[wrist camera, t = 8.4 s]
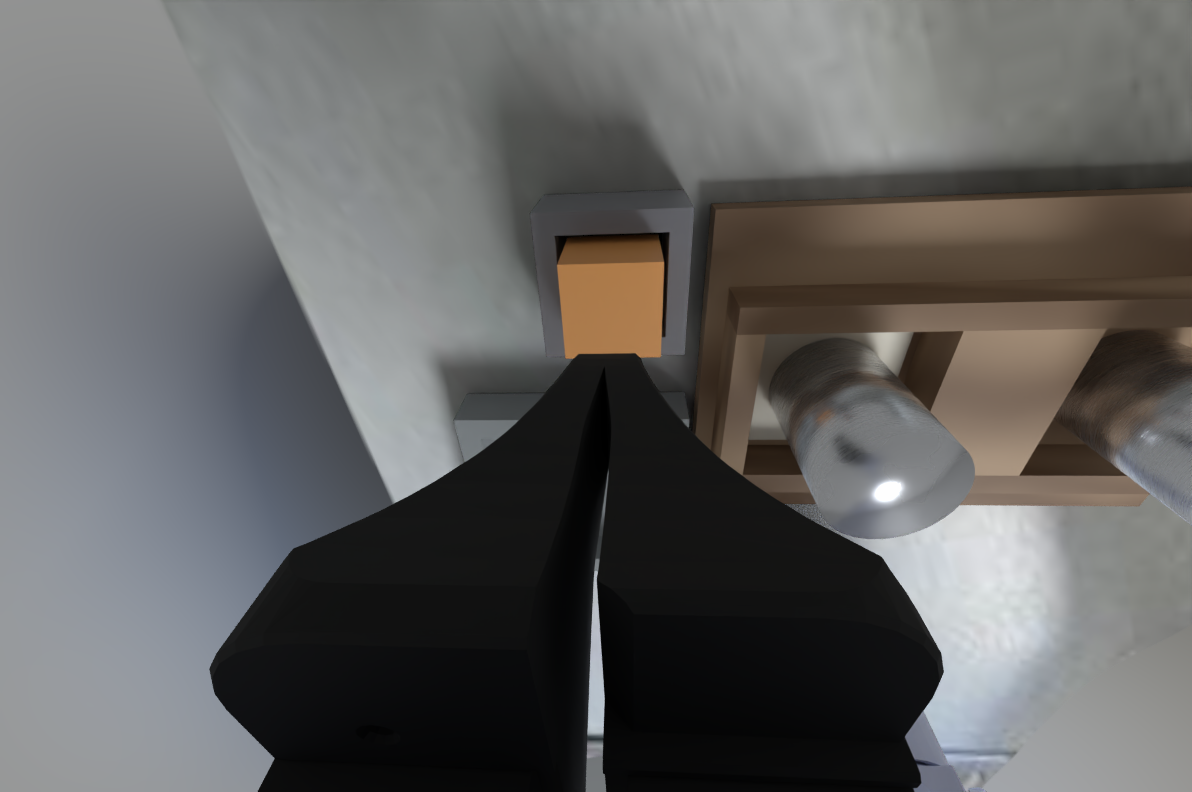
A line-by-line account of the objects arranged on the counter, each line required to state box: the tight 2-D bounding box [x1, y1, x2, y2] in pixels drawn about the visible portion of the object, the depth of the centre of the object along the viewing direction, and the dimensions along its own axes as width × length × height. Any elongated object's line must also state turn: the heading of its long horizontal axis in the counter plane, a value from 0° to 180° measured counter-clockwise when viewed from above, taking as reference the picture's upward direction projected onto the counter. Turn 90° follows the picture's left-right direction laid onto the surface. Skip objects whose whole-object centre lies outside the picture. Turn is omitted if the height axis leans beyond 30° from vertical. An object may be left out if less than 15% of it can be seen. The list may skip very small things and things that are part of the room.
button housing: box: [530, 190, 694, 357], centre depth 17 cm, size 5×5×3 cm
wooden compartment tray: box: [692, 186, 1192, 506], centre depth 19 cm, size 14×21×3 cm, turn 93°
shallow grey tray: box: [454, 392, 689, 571], centre depth 23 cm, size 10×10×2 cm
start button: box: [557, 234, 664, 359], centre depth 15 cm, size 3×3×3 cm
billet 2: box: [1053, 330, 1192, 525], centre depth 16 cm, size 4×4×6 cm
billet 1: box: [769, 338, 975, 539], centre depth 17 cm, size 4×4×6 cm
